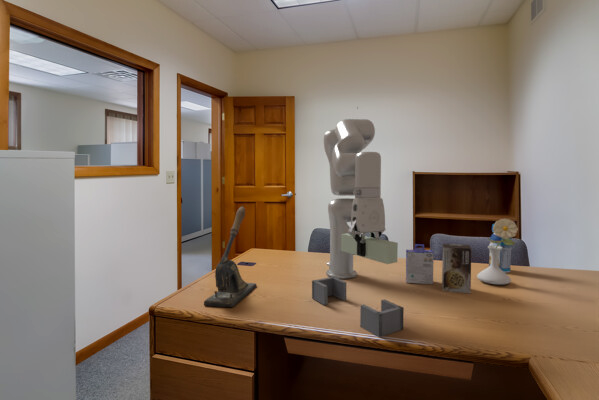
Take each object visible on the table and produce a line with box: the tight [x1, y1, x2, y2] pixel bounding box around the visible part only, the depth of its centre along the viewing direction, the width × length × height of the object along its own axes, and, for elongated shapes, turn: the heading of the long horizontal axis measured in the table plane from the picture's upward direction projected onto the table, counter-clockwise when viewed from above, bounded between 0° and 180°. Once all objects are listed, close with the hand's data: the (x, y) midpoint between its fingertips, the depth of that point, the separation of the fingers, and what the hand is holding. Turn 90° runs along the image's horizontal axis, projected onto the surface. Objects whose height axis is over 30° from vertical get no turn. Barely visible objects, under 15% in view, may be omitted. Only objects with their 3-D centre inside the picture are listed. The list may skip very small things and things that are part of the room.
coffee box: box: [441, 243, 472, 294], centre depth 124 cm, size 9×6×16 cm
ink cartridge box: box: [405, 243, 435, 285], centre depth 134 cm, size 10×6×14 cm, turn 78°
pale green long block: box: [341, 233, 399, 265], centre depth 104 cm, size 20×4×6 cm, turn 32°
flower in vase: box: [476, 218, 519, 286], centre depth 132 cm, size 13×11×25 cm
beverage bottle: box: [488, 223, 513, 274], centre depth 149 cm, size 8×8×20 cm
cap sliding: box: [311, 276, 347, 306], centre depth 115 cm, size 7×9×6 cm
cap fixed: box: [359, 298, 405, 338], centre depth 94 cm, size 7×9×6 cm
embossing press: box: [203, 205, 257, 308], centre depth 119 cm, size 11×24×30 cm, turn 165°
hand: (367, 254), depth 104 cm, fingers closed on pale green long block, 4 cm apart
